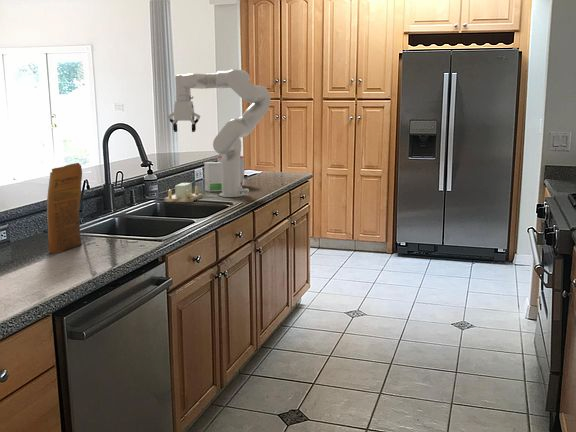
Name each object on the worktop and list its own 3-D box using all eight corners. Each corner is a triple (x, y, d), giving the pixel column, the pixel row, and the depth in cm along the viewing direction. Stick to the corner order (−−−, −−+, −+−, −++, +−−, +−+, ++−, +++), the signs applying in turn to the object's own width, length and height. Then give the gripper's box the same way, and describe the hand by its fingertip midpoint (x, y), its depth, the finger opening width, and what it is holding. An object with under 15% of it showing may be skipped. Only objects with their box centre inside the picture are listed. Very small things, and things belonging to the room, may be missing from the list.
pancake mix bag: (93, 242, 216) (88, 162, 211) (57, 255, 198) (51, 168, 193) (77, 241, 218) (71, 161, 213) (40, 254, 200) (33, 167, 195)
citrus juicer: (247, 184, 365) (247, 149, 361) (242, 188, 348) (241, 152, 344) (221, 183, 366) (220, 149, 363) (215, 187, 349) (214, 152, 346)
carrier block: (192, 194, 315) (191, 182, 313) (185, 197, 305) (184, 185, 304) (182, 194, 315) (182, 182, 314) (175, 197, 306) (175, 185, 305)
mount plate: (202, 196, 318) (201, 186, 317) (191, 202, 301) (191, 190, 300) (176, 196, 320) (175, 185, 319) (164, 201, 303) (163, 190, 302)
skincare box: (208, 192, 334) (207, 163, 331) (204, 190, 339) (203, 162, 336) (223, 190, 338) (222, 162, 335) (218, 189, 343) (217, 161, 340)
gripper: (201, 98, 324) (202, 131, 327) (169, 98, 326) (171, 131, 330) (197, 98, 317) (198, 132, 320) (164, 98, 319) (166, 132, 322)
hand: (184, 131), depth 325 cm, fingers open, 9 cm apart
